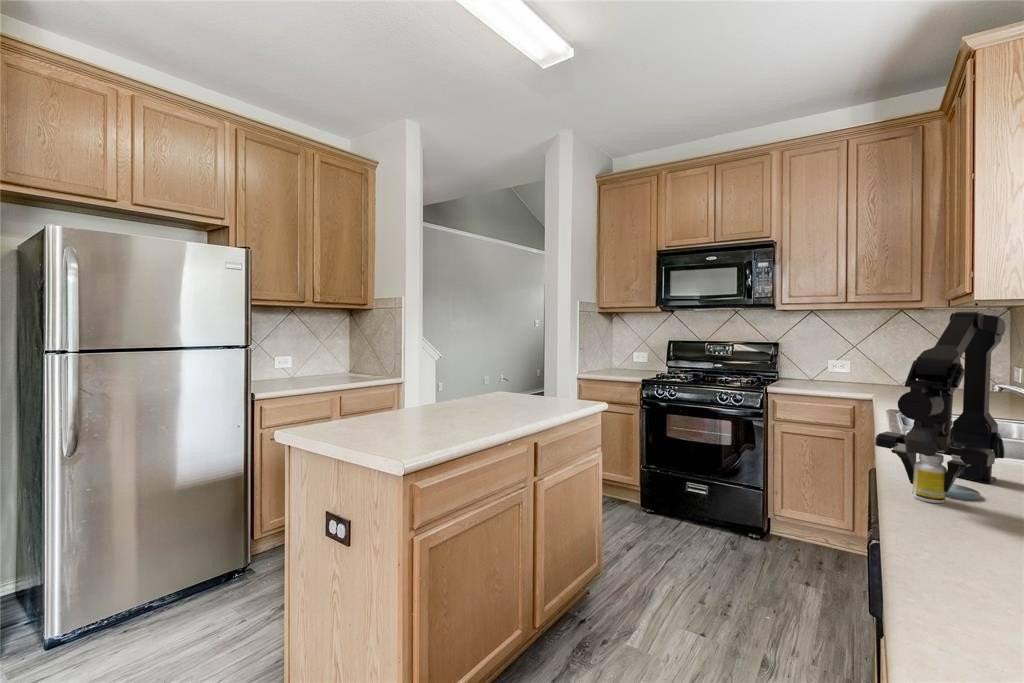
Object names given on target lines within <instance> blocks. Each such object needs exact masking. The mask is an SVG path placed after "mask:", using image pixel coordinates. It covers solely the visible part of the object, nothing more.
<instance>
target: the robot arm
mask: <svg viewBox="0 0 1024 683" xmlns="http://www.w3.org/2000/svg"><path fill="white" fill-rule="evenodd" d="M1005 332H1006V322H1005V320H1004V319H1003V318H1001V317H999V316H998V315H996V314H995V315H993V314H992V315H991V314H989V315H988V314H984V313H982V312H978V311H955V312H951V314H950V316H949V323H947V326H946V328H945V329H944V331H943V332H942V334H941V335H940V337H939V339H938V340H937V342H936V344H935V345H934V346H932V348H928V349H926V350H923V351H922V352H921V353H920V354H919V355H918V356H917V357H916V359H914V361H913V362H912V364H911V367H910V369H909V371H908V375H907V378H906V379H905V380H906V381H905V383H904V387H906V388H910V390H909V391H908V392H904V393H903V394H902V395H901V396H900V397H899V399H898V401H897V408H898V410H899V412H900V414H901V415H903V417H905V418H907V419H910V420H913V426H912V427H911V429H910V430H909V431H908V432H907V433H906V434H904V433H898V432H893V431H883V432H881V433H878V434H876V437H875V444H874V445H875V446H876V447H881V448H886V449H890V450H891V453H892V454H896V455H897V456H898V457H899V459H900V460H901V462H902V464H903V466H904V469H905V472H906V475H907V477H908V480H909V483H910V484H911V485H913V475H914V464H915V463H916V462H917V454H918V455H919V454H923V455H925V456H934V455H935V454H936V453H937V454H941V455H943V456H944V455H945V456H950V457H951V460H950V459H949V460H948V461H947V462H946V464H947V474H946V479H945V485H944V491H945V492H948V491H949V489H950V488H951V486H952V484H955V481H956V479H957V478H962V479H965V480H970V481H975V482H979V483H984V484H991V483H993V482H994V481H996V480H997V477H996V476H992V473H993V472H992V471H993V465H994V464H995V459H996V460H997V459H1005V445H1004V441H1003V439H1002V435H1001V433H1000V432H999V424H998V423H997V421H996V420H995V419H994V418H993V416H992V415H991V413H990V397H991V396H990V395H991V394H990V393H991V392H990V390H991V366H992V365H991V364H992V363H991V362H992V352H993V351H994V350H995V349H996V348H997V347H998V345H1000V343H1001V342H1002V337H1003V336H1004V335H1005ZM963 354H964V365H963V364H962V362H961V358H962V356H963ZM963 366H964V368H963ZM962 381H963V395H962V397H963V399H962V413H961V414H959V416H958V417H957V418H956V419H954V420H952V416H953V405H954V404H953V400H954V392H955V390H956V389H959V387H960V385H961V382H962Z"/></svg>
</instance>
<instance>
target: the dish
mask: <svg viewBox="0 0 1024 683" xmlns="http://www.w3.org/2000/svg"><path fill="white" fill-rule="evenodd" d="M945 498H949V499H953V500H958V501H971V502H973V501H974V502H975V501H980V499H981V492H979V491H978V490H975V489H973V488H970V487H969V486H968V487H967V486H964V485H960V484H955V483H953V484H952V486H951V488H950V489H949V491H948V492H945Z"/></svg>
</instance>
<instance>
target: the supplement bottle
mask: <svg viewBox="0 0 1024 683" xmlns="http://www.w3.org/2000/svg"><path fill="white" fill-rule="evenodd" d="M944 458H945V457H944V454H939V453H936V454H935V455H934V456H925V455H923V454H918V459H919V461H916V463H915V464H914V475H913V484H912V492H911V495H912V497H913V498H915V499H916V500H920V501H922V502H926V503H931V504H932V503H933V504H942V503H945V501H946V497H945V491H944V485H945V479H946V474H947V470H948V468H946V466H945V465H943V464H944Z"/></svg>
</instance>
